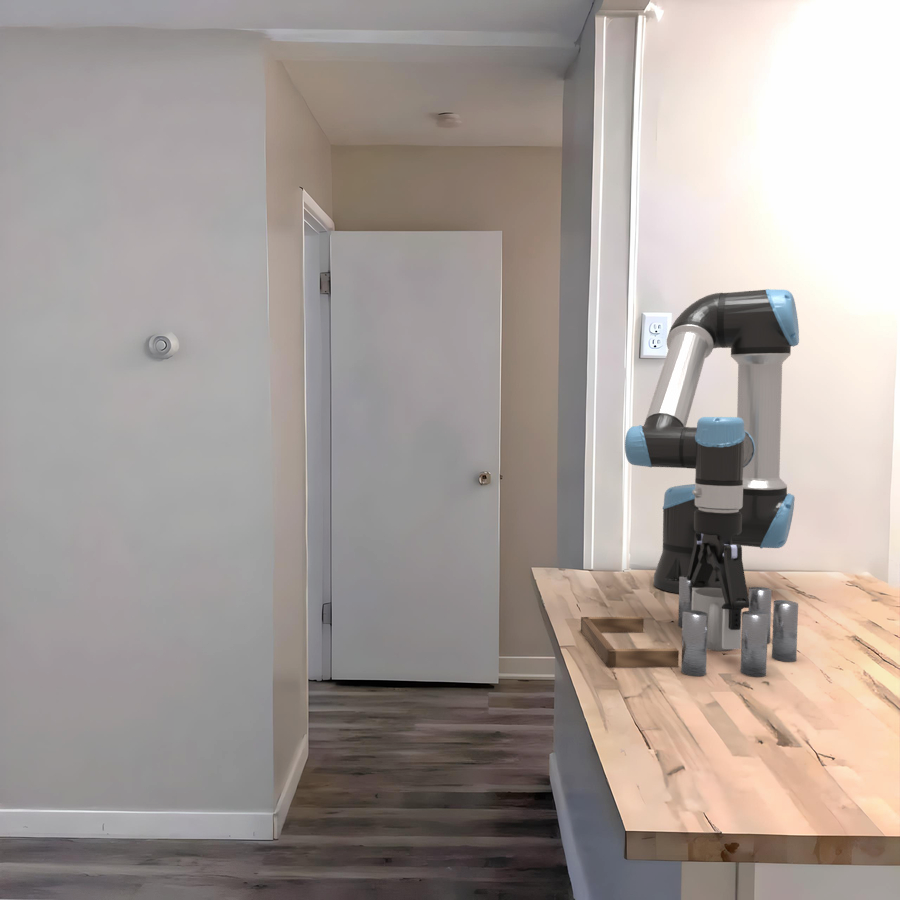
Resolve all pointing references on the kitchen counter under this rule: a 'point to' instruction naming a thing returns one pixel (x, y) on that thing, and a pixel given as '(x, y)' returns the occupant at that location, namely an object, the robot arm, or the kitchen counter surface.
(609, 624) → the bay
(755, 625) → the spacers
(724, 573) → the robot arm
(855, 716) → the kitchen counter surface
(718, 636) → the cup
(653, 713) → the kitchen counter surface
